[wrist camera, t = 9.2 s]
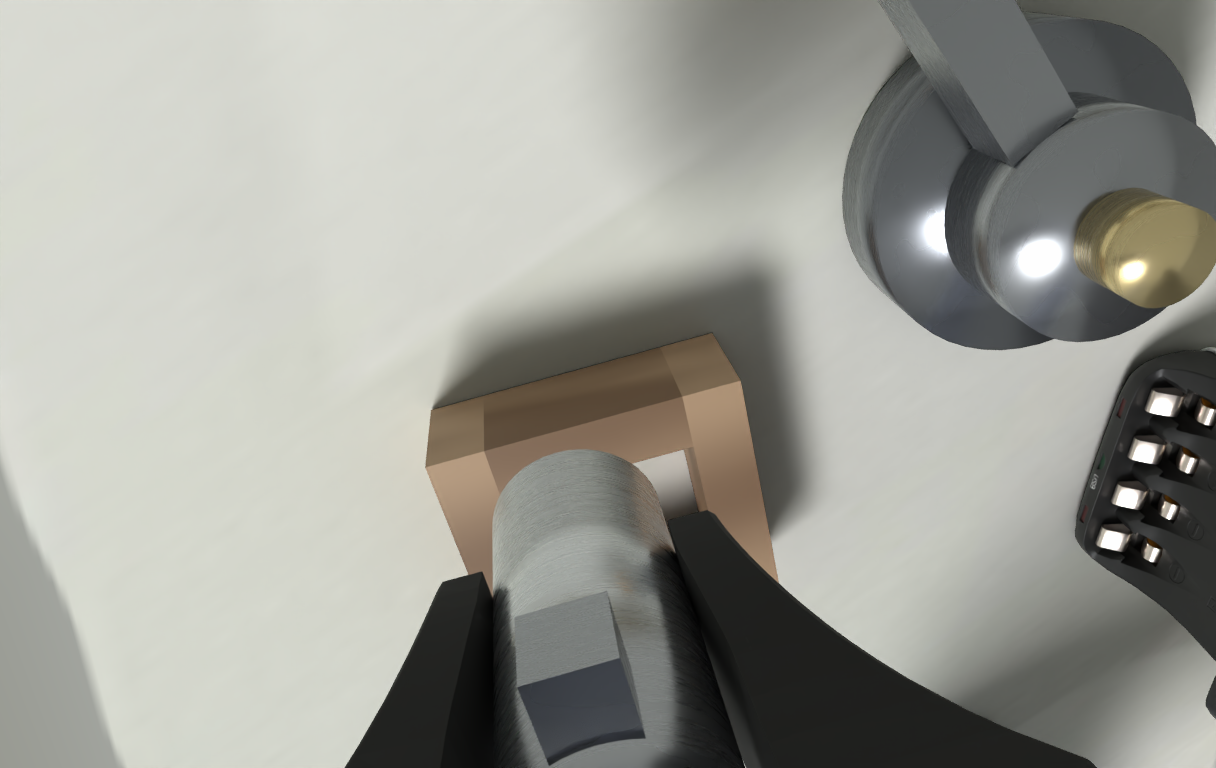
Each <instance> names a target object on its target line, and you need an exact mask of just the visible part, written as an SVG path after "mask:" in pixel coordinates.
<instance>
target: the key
mask: <svg viewBox="0 0 1216 768" xmlns="http://www.w3.org/2000/svg"><path fill="white" fill-rule="evenodd" d="M492 546H493V686H494V768H745V766H744V763H743V759H742V756H741V753H740V750H739V747H738V744H737V741H736V738H735V735H734V732H733V729H732V725H731V722H730V719H729V716H728V713H727V710H726V707H725V704H724V701H723V698H722V694H721V691H720V688H719V685H718V682H717V679H716V676H715V673H714V670H713V667H712V664H711V660H710V657H709V654H708V651H707V648H706V645H705V642H704V639H703V636H702V633H701V630H700V626H699V623H698V620H697V617H696V614H695V611H694V608H693V605H692V602H691V599H690V597H689V593H688V590H687V587H686V584H685V581H684V578H683V575H682V572H681V569H680V565H679V562H678V559H677V556H676V553H675V549H674V546H673V543H672V540H671V537H670V534H669V530H668V527H667V524H666V521H665V518H664V515H663V512H662V509H661V506H660V503H659V500H658V497H657V494H656V491H655V489H654V488H653V486H652V484H651V482H650V481H649V480H648V478H647V477H646V476H645V475H644V474H643V473H642V472H641V471H640V470H639V469H638V468H637V467H635V466H634V465H633V464H631V463H630V462H628V461H626V460H624V459H623V458H621V457H618V456H616V455H613V454H610V453H606V452H602V451H597V450H589V449H576V450H566V451H562V452H557V453H553V454H551V455H548V456H545V457H542V458H540V459H538V460H536V461H534V462H532V463H531V464H529V465H528V466H526V467H525V468H523V469H522V470H521V471H520V472H518V473H517V474H516V475H515V476H514V477H513V478H512V479H511V480H510V481H509V482H508V484H507V485H506V487H505V488H504V489H503V491H502V493H501V495H500V496H499V498H498V500H497V503H496V506H495V509H494V514H493V524H492Z"/></svg>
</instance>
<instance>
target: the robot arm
mask: <svg viewBox="0 0 1216 768" xmlns="http://www.w3.org/2000/svg"><path fill="white" fill-rule="evenodd" d="M668 525H669V529H670V533H671V537H672V541H673V545H674V549H675V553H676V556H677V559H678V562H679V565H680V569H681V572H682V575H683V578H684V581H685V584H686V587H687V590H688V593H689V597H690V599H691V602H692V605H693V608H694V611H695V614H696V617H697V620H698V623H699V626H700V630H701V633H702V636H703V639H704V642H705V645H706V648H707V651H708V654H709V657H710V660H711V664H712V667H713V670H714V673H715V676H716V679H717V682H718V685H719V688H720V691H721V694H722V698H723V701H724V704H725V707H726V710H727V713H728V716H729V719H730V722H731V725H732V729H733V732H734V735H735V738H736V741H737V744H738V747H739V750H740V753H741V756H742V759H743V761H744V763H745V766H746V768H1097V767H1096V766H1095V765H1094V764H1093V763H1092V762H1091V761H1089V760H1088V759H1086V758H1083V757H1081V756H1078V755H1075V754H1073V753H1070V752H1067V751H1065V750H1062V749H1060V748H1057V747H1054V746H1052V745H1049V744H1046V743H1044V742H1041V741H1038V740H1036V739H1033V738H1031V737H1028V736H1025V735H1023V734H1020V733H1017V732H1015V731H1012V730H1010V729H1007V728H1005V727H1003V726H1000V725H998V724H996V723H994V722H992V721H989V720H987V719H985V718H983V717H981V716H979V715H976V714H974V713H972V712H970V711H968V710H966V709H964V708H962V707H960V706H959V705H957V704H955V703H953V702H951V701H949V700H947V699H945V698H944V697H942V696H940V695H938V694H936V693H934V692H932V691H930V690H929V689H927V688H925V687H923V686H921V685H919V684H917V683H915V682H914V681H912V680H910V679H908V678H907V677H905V676H903V675H902V674H900V673H898V672H897V671H895V670H894V669H892V668H890V667H889V666H887V665H885V664H884V663H882V662H881V661H879V660H877V659H876V658H874V657H873V656H871V655H870V654H868V653H867V652H865V651H864V650H862V649H861V648H860V647H858V646H857V645H855V644H854V643H852V642H851V641H849V640H848V639H847V638H845V637H844V636H842V635H841V634H840V633H838V632H837V631H836V630H834V629H833V628H832V627H830V626H829V625H828V624H826V623H825V622H824V621H823V620H821V619H820V618H819V617H818V616H816V615H815V614H814V613H813V612H811V611H810V610H809V609H808V608H806V607H805V606H804V605H803V604H802V603H800V602H799V601H798V600H797V599H796V598H795V597H793V596H792V595H791V594H790V593H789V592H788V591H787V590H786V589H784V588H783V587H782V586H781V585H780V584H779V583H778V582H777V581H776V580H775V579H774V578H773V577H771V576H770V575H769V574H768V573H767V572H766V571H765V570H764V569H763V568H762V567H761V566H760V565H759V564H758V563H757V562H756V561H755V560H754V559H753V558H752V557H751V556H750V555H749V554H748V553H747V552H746V551H745V550H744V549H743V548H742V546H741V545H740V544H739V543H738V542H737V541H736V540H735V539H734V538H733V536H732V535H731V534H730V533H729V532H728V530H727V529H726V528H725V527H724V525H723V524H722V523H721V521H720V520H719V519H718V517H717V516H716V514H714V513H712V512H710V511H708V510H705V511H701V512H697V513H694V514H690V515H686V516H683V517H679V518H675V519H672V520H668ZM345 768H494V686H493V597H492V595H491V592H490V590H489V587H488V584H487V582H486V579H485V577H484V574H483V572H482V571H481V572H478V573H474V574H470V575H467V576H463V577H459V578H456V579H452V580H448V581H445V582H443V583H442V584H441V586H440V587H439V589H438V591H437V593H436V595H435V597H434V600H433V602H432V604H431V606H430V609H429V611H428V613H427V615H426V617H425V620H424V622H423V624H422V626H421V628H420V631H419V633H418V635H417V637H416V639H415V641H414V643H413V645H412V647H411V650H410V652H409V654H408V656H407V658H406V660H405V662H404V664H403V666H402V668H401V670H400V671H399V673H398V675H397V677H396V679H395V681H394V683H393V685H392V687H391V689H390V691H389V693H388V695H387V697H386V699H385V700H384V702H383V704H382V706H381V708H380V709H379V711H378V713H377V714H376V716H375V718H374V720H373V721H372V723H371V725H370V727H369V728H368V730H367V732H366V734H365V735H364V737H363V739H362V741H361V742H360V744H359V746H358V747H357V749H356V751H355V752H354V754H353V755H352V757H351V758H350V760H349V762H348V763H347V765H346V766H345Z"/></svg>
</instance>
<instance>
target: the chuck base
mask: <svg viewBox="0 0 1216 768" xmlns="http://www.w3.org/2000/svg"><path fill="white" fill-rule="evenodd" d="M1022 13H1023V15H1024V17H1025V19H1026V20H1027V22H1028V24H1029V26H1030V28H1031V29H1032V31H1033V33H1034V35H1035V36H1036V38H1037V40H1038V42H1039V43H1040V45H1041V47H1042V49H1043V50H1044V52H1045V54H1046V56H1047V57H1048V59H1049V61H1050V63H1051V65H1052V66H1053V68H1054V70H1055V72H1056V73H1057V75H1058V77H1059V79H1060V80H1061V82H1062V84H1063V86H1064V87H1065V89H1066V91H1067V92H1083V93H1091V94H1095V95H1099V96H1103V97H1107V98H1111V99H1115V100H1119V101H1123V102H1127V103H1131V104H1135V105H1139V106H1143V107H1147V108H1151V109H1155V110H1159V111H1163V112H1167V113H1171V114H1174V115H1177V116H1180V117H1183V118H1185V119H1187V120H1189V121H1191V122H1193V123H1194V124H1195V125H1196V117H1195V112H1194V108H1193V104H1192V101H1191V97H1190V94H1189V91H1188V89H1187V87H1186V85H1185V83H1184V80H1183V78H1182V76H1181V75H1180V73H1179V72H1178V70H1177V69H1176V67H1175V66H1174V64H1173V63H1172V61H1171V60H1170V59H1169V58H1168V57H1167V56H1166V55H1165V54H1164V53H1163V52H1162V51H1161V50H1160V49H1159V48H1158V47H1157V46H1156V45H1155V44H1153V43H1152V42H1150V41H1149V40H1148V39H1146V38H1145V37H1143V36H1142V35H1140V34H1138V33H1136V32H1134V31H1132V30H1130V29H1127V28H1125V27H1123V26H1119V25H1116V24H1112V23H1108V22H1104V21H1098V20H1090V19H1082V18H1074V17H1067V16H1059V15H1051V14H1043V13H1033V12H1022ZM971 148H972V145H971V144H970V142H969V141H968V139H967V138H966V136H965V135H964V133H963V132H962V130H961V128H960V127H959V125H958V124H957V122H956V121H955V119H954V118H953V116H952V115H951V113H950V111H949V110H948V108H947V107H946V105H945V104H944V102H943V101H942V99H941V98H940V96H939V94H938V93H937V91H936V90H935V88H934V87H933V85H932V84H931V82H930V81H929V79H928V77H927V76H926V74H925V73H924V71H923V70H922V68H921V67H920V65H919V64H918V62H917V60H916V59H915V57H914V56H912V57H911V58H910V59H909V60H907V61H906V62H905V63H904V64H903V65H902V66H901V67H900V68H899V69H898V71H897V72H896V73H895V74H894V75H893V76H892V77H891V78H890V79H889V80H888V82H887V83H886V84H885V86H884V87H883V88H882V89H881V91H880V92H879V93H878V95H877V96H876V97H875V99H874V101H873V102H872V104H871V106H870V107H869V109H868V111H867V112H866V114H865V116H864V118H863V120H862V122H861V124H860V126H859V128H858V131H857V133H856V135H855V137H854V140H853V143H852V146H851V149H850V152H849V155H848V160H847V165H846V169H845V174H844V182H843V194H842V201H843V218H844V223H845V229H846V234H847V237H848V240H849V243H850V246H851V249H852V252H853V254H854V255H855V257H856V259H857V261H858V263H859V265H860V267H861V268H862V270H863V271H864V272H865V274H866V275H867V277H868V278H869V279H870V280H871V281H872V282H873V283H874V284H875V285H876V286H877V287H878V288H879V289H880V290H881V291H882V292H883V293H884V294H885V295H886V296H887V297H889V298H890V299H891V300H892V301H893V302H894V303H895V304H897V305H898V306H899V307H900V308H901V309H902V310H904V311H905V312H906V313H907V314H908V315H909V316H910V317H912V318H913V319H914V320H915V321H916V322H917V323H919V324H920V325H921V326H923V327H924V328H926V329H927V330H928V331H930V332H931V333H933V334H935V335H937V336H939V337H941V338H943V339H945V340H947V341H949V342H952V343H955V344H958V345H962V346H965V347H971V348H977V349H985V350H1006V349H1017V348H1023V347H1027V346H1032V345H1037V344H1040V343H1043V342H1046V341H1049V340H1052V339H1054V338H1051V337H1048V336H1046V335H1043V334H1041V333H1039V332H1037V331H1036V330H1034V329H1032V328H1031V327H1029V326H1028V325H1026V324H1025V323H1023V322H1022V321H1021V320H1019V319H1018V318H1016V317H1015V316H1013V315H1012V314H1011V313H1009V312H1008V311H1006V310H1005V309H1003V308H1002V307H1001V306H999V305H998V304H996V303H995V302H993V301H992V300H991V299H989V298H988V297H986V296H985V295H983V294H982V293H981V292H979V291H978V290H976V289H975V288H974V287H972V286H971V285H970V284H969V283H968V282H966V281H965V280H964V278H963V277H962V276H961V275H960V274H959V272H958V271H957V269H956V268H955V266H954V264H953V263H952V260H951V258H950V255H949V253H948V250H947V245H946V241H945V232H944V215H945V208H946V202H947V197H948V194H949V191H950V187H951V184H952V182H953V180H954V177H955V175H956V173H957V170H958V169H959V167H960V165H961V163H962V161H963V160H964V158H965V156H966V155H967V154H968V152H969V151H970V149H971ZM1073 250H1074V259H1075V262H1076V265H1077V267H1078V269H1079V270H1080V271H1081V273H1082V274H1083V275H1084V276H1086V277H1087V278H1089V279H1091V280H1092V281H1094V282H1096V283H1098V284H1100V285H1101V286H1103V287H1105V288H1107V289H1109V290H1110V291H1112V292H1114V293H1116V294H1118V295H1120V296H1121V297H1123V298H1125V299H1127V300H1129V301H1130V302H1132V303H1134V304H1136V305H1138V306H1141V307H1145V308H1161V307H1166V306H1169V305H1172V304H1174V303H1177V302H1179V301H1181V300H1182V299H1184V298H1186V297H1187V296H1189V295H1190V294H1191V293H1193V292H1194V291H1195V290H1196V289H1197V288H1198V287H1199V286H1200V285H1201V284H1202V283H1203V282H1204V281H1205V279H1206V278H1207V277H1208V275H1209V274H1210V272H1211V271H1212V269H1213V267H1214V265H1215V263H1216V222H1215V220H1214V219H1213V218H1212V217H1211V216H1210V215H1209V214H1208V213H1206V212H1205V211H1203V210H1200V209H1198V208H1195V207H1193V206H1190V205H1187V204H1184V203H1182V202H1179V201H1176V200H1174V199H1171V198H1168V197H1166V196H1163V195H1160V194H1158V193H1155V192H1152V191H1149V190H1147V189H1143V188H1127V189H1122V190H1119V191H1116V192H1114V193H1112V194H1110V195H1108V196H1107V197H1105V198H1103V199H1102V200H1101V201H1099V202H1098V203H1097V204H1096V205H1095V206H1094V207H1093V208H1092V209H1091V210H1090V211H1089V212H1088V213H1087V215H1086V216H1085V218H1084V219H1083V221H1082V222H1081V224H1080V226H1079V228H1078V230H1077V233H1076V236H1075V241H1074V249H1073Z"/></svg>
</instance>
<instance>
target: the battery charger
mask: <svg viewBox="0 0 1216 768" xmlns="http://www.w3.org/2000/svg"><path fill="white" fill-rule="evenodd" d="M1075 537H1076V539H1077V541H1078V543H1079V545H1080V546H1081V547H1082V549H1083V550H1084V551H1085V552H1086V553H1088V554H1089V555H1090V556H1091V557H1092V558H1093V559H1094V560H1095V561H1097V562H1098V563H1099V564H1101V565H1102V566H1103V567H1105V568H1106V569H1107V570H1109V571H1110V572H1112V573H1114V574H1115V575H1117V576H1119V577H1120V578H1122V579H1124V580H1125V581H1127V582H1128V583H1130V584H1132V585H1133V586H1135V587H1136V588H1138V589H1139V590H1140V591H1142V592H1143V593H1145V594H1146V595H1147V596H1149V597H1150V598H1151V599H1153V600H1154V601H1156V602H1157V603H1158V604H1159V605H1161V606H1162V607H1163V608H1164V609H1166V610H1167V611H1168V612H1169V613H1170V614H1171V615H1172V616H1173V617H1174V618H1175V619H1176V620H1177V621H1178V622H1179V623H1180V624H1181V625H1182V626H1184V627H1185V628H1186V629H1187V631H1188V632H1189V633H1190V634H1191V635H1192V636H1193V637H1194V638H1195V639H1196V640H1197V641H1198V642H1199V644H1200V645H1201V646H1202V647H1203V648H1204V649H1205V650H1206V651H1207V652H1208V653H1209V654H1210V655H1211V657H1212V658H1213V659H1214V660H1215V661H1216V347H1207V348H1204V349H1202V350H1201V351H1182V352H1177V353H1172V354H1167V355H1163V356H1160V357H1158V358H1155V359H1152V360H1150V361H1148V362H1146V363H1144V364H1142V365H1141V366H1140V367H1138V368H1137V369H1136V370H1135V371H1134V372H1133V373H1132V374H1131V375H1130V377H1129V378H1128V380H1127V382H1126V383H1125V385H1124V387H1123V389H1122V391H1121V393H1120V395H1119V398H1118V400H1117V403H1116V405H1115V408H1114V411H1113V413H1112V416H1111V419H1110V422H1109V424H1108V427H1107V430H1106V432H1105V435H1104V438H1103V441H1102V443H1101V446H1100V449H1099V451H1098V454H1097V457H1096V460H1095V463H1094V466H1093V469H1092V472H1091V475H1090V478H1089V481H1088V485H1087V488H1086V491H1085V494H1084V497H1083V500H1082V503H1081V506H1080V509H1079V513H1078V517H1077V523H1076V528H1075ZM1206 707H1207V708H1208V710H1209V712H1210V713H1211V714H1212V716H1213V717H1214V718H1215V719H1216V676H1215V678H1214V681H1213V683H1212V685H1211V688H1210V690H1209V693H1208V695H1207V698H1206Z"/></svg>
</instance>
